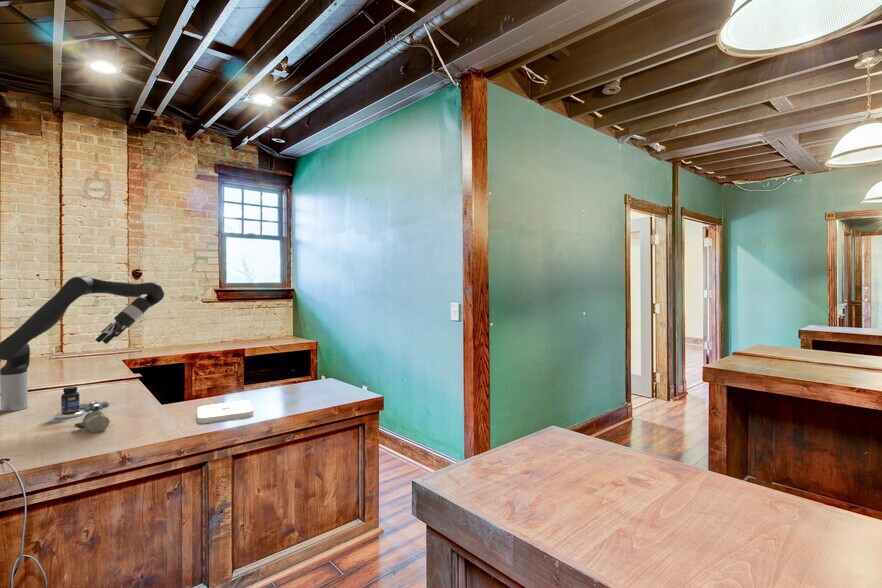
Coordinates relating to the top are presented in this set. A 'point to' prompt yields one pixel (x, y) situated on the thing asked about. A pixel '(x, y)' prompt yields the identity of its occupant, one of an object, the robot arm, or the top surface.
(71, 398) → the pill bottle
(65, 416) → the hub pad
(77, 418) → the gear board
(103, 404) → the gear
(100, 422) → the ceramic sculpture
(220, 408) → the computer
